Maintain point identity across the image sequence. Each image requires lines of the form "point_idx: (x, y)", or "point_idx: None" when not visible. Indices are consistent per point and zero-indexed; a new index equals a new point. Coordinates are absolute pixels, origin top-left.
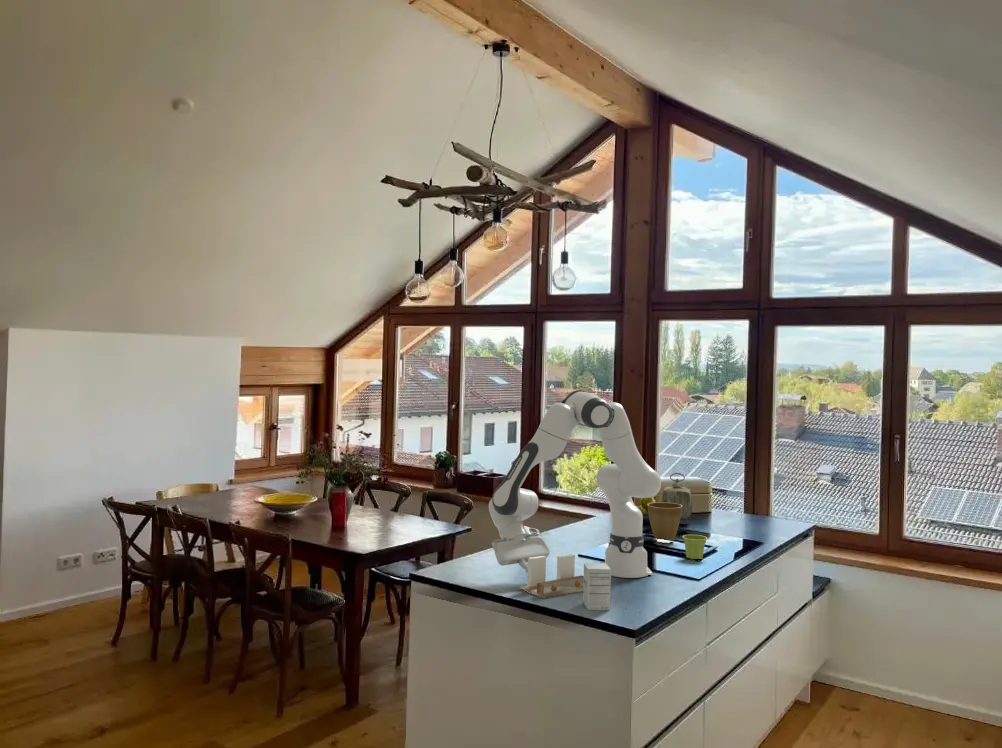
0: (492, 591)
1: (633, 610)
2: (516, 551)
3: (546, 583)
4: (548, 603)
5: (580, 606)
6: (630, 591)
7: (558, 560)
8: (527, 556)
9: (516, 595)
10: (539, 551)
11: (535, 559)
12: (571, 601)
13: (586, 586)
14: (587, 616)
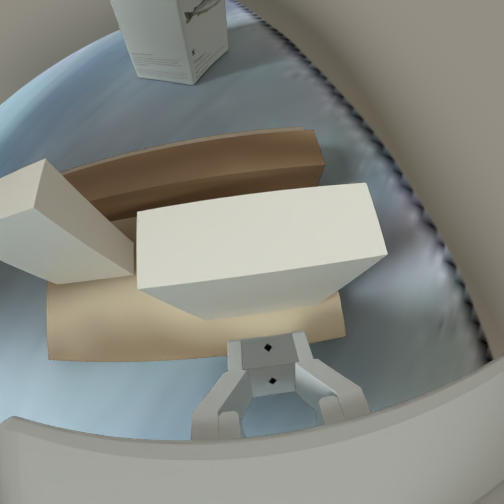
0: (459, 344)
1: None
2: (451, 467)
3: (277, 140)
4: (309, 114)
5: (224, 69)
6: (6, 161)
7: (56, 207)
8: (292, 435)
9: (394, 248)
10: (75, 466)
11: (308, 193)
12: (215, 106)
13: (219, 1)
14: (260, 29)
